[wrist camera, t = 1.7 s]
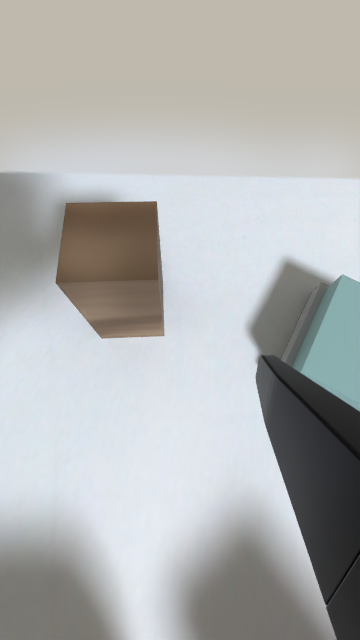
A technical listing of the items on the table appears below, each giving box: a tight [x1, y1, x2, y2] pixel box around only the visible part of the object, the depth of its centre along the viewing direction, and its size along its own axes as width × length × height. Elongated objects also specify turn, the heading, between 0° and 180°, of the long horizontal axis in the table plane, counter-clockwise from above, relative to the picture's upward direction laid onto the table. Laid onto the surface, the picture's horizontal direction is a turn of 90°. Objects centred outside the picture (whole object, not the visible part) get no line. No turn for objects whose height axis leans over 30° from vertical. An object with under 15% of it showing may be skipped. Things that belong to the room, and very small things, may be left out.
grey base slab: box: [281, 282, 329, 367], centre depth 23 cm, size 10×10×2 cm
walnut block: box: [56, 201, 164, 338], centre depth 20 cm, size 6×6×10 cm
